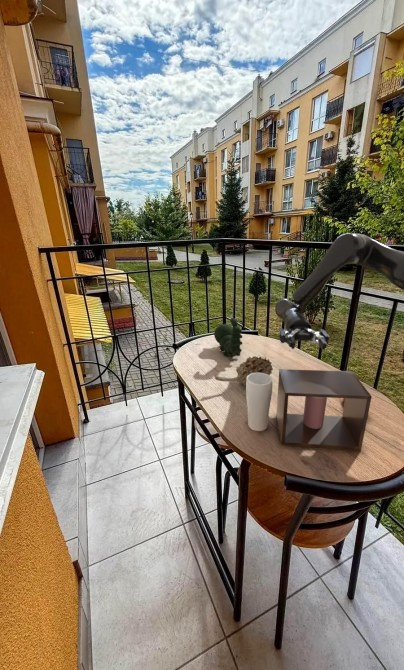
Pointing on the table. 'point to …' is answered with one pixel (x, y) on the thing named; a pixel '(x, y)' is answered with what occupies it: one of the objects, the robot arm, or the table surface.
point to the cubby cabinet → (335, 428)
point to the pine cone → (250, 369)
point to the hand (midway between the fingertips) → (308, 346)
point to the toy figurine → (229, 338)
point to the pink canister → (314, 412)
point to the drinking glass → (258, 400)
